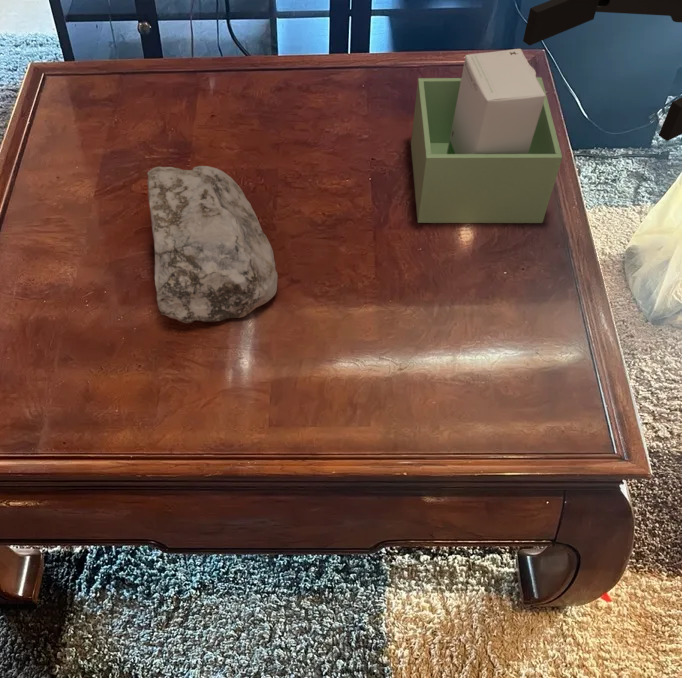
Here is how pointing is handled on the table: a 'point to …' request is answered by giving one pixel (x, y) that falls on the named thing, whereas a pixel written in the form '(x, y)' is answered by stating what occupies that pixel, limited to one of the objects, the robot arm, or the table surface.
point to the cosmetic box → (496, 105)
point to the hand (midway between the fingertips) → (594, 71)
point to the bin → (477, 166)
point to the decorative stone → (207, 246)
